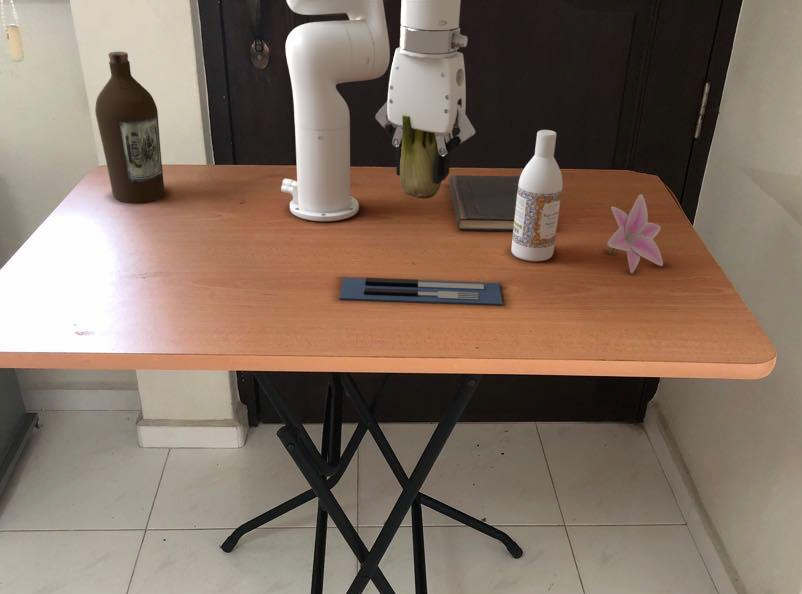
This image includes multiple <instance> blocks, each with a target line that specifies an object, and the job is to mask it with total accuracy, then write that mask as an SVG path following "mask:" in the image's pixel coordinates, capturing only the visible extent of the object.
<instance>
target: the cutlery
mask: <svg viewBox="0 0 802 594" xmlns="http://www.w3.org/2000/svg"><path fill="white" fill-rule="evenodd" d="M365 278H366V280H365V285H366V286H393V287H418V288H437V289H465V290H484V285H483V284H461V283H434V282H418V280H419V279H416V278H414V279H413V278H412V279H410V278H386V277H385V278H384V277H383V278H382V277H365ZM364 295H388V296H416V297H417V296H421V297H438V299H454V300H479V298H478V293H468V292H451V291H438V292H418V290H411V289H384V288H364Z"/></svg>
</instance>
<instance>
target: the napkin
mask: <svg viewBox="0 0 802 594" xmlns="http://www.w3.org/2000/svg"><path fill="white" fill-rule="evenodd" d="M366 278H367V277H343V278H342V284H341V289H340V293H339V301H340V300H342V301H365V302H368V301H369V302H395V303H396V302H397V303H419V304H420V303H421V304H422V303H423V304H447V305H448V304H449V305H450V304H451V305H476V306H478V305H479V306H503V298H502V291H501V287H500V283H499V282H480V281H479V282H475V281H453V280H452V281H450V280H425V279H424V280H422V279H421V280H419V279H417V280H418V282H434V283H461V284H483V285H484V290H465V289H437V288H418V287H393V286H366V285H365V280H366ZM364 288H384V289H411V290H418V292H438V291H451V292H468V293H478V298H479V300H454V299H438V297H421V296H417V297H416V296H388V295H364Z"/></svg>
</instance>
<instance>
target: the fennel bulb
mask: <svg viewBox="0 0 802 594" xmlns="http://www.w3.org/2000/svg"><path fill="white" fill-rule="evenodd" d="M437 154H438V147H437V142H436V137H435V133H431V132H425V131H420V130H415V129H412V128H411V122H410V117H409V116H406V115H403V139H402V152H401V160H400V176H399V179H400V185H401V189H402V192H403V193H404V194H405V195H407V196H410V197H414V198H417V199H422V200H423V199H431V198H433V197H434V196H436V194H437V193H438V191H439V190H440V188H441V185H442V181H441V182H440V183H439V184H436V183H434V182H433V173H434V157H435V155H437Z"/></svg>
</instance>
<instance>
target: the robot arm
mask: <svg viewBox="0 0 802 594" xmlns="http://www.w3.org/2000/svg"><path fill="white" fill-rule="evenodd" d="M286 4H287V5H288V7H289V9H290V10H291V11H292V12H293V13H296V14H299V15H306V16H309V15H310V16H316V15H319V16H320V15H332V14H333V15H334V14H346V15H347V17H348V19H346V20H324V21H313V22H307V23H304V24H300V25H298V26H296V27H295V28H292V30H291V31H290V32H289V34H288V35H287V38H286V40H285V56H286V63H287V68H288V72H289V77H290V83H291V90H292V98H293V99H292V101H293V112H294V113H293V115H294V131H295V132H294V133H295V135H294V136H295V158H296V180H294V179H290V178H283V180H282V183H281V187H280V193H282V194H288V195H291V196H292V199H291V201H290V202H289V211H290V212H291V214H292V215H294V216H296V217H298V218H300V219H302V220H307V221H312V222H337V221H342V220H346V219H349V218H351V217H354V216H355V215H356V214H358V212H359V210H360V203H359V201H358V200H357V199H356V198H354V197H353V196H351V115H350V109H349V106H348V104H347V102H346V101H345V99H344V98H343V96H342V95H341V94H340V92H339V91H338V89H337V85H338V84H344V83H352V82H363V81H370V80H375V79H378V78H381V77H382V76H383V75H384V74H385V73H386V71H387V70H388V67H389V64H390V57H391V56H390V55H391V54H390V53H391V52H390V50H391V49H390V39H389V33H388V26H387V20H386V13H385V7H384V0H286ZM400 4H401V6H400V28H399V29H400V31H399V32H400V33H399V47H397V48H395V52H394V56H393V61H392V64H391V69H390V74H389V81H388V91H387V100H386V102H385V103H384V104H383V105H382V107H380V109H379V110H378V111H377V112H376V114H375V117H374V118H375V120H376V121H377V122H378V123H379V124H380V126H381V127H382V128H383V129H384V131H385V132H386V134H387V135H388V137H389V139H390V140H392V141H391V144H392V146H393V147H395V155H394V166H395V168H396V176H399V177H400V160H401V152H402V139H403V115H406V116H409V117H410V122H411V128H412V130H414V129H415V130H420V131H425V132H431V133H435V137H436V142H437V147H438V154H437V155H435V157H434V173H433V182H434V183H436V184H439V183H440V182H441V183H442V182H443V181H445V180H446V179H447V178H448V176H449V174H450V168H451V167H450V166H451V153H452V152H453V151H454V150H455V149H456V148H457V147H459V146H460V145H461V144H463V142H465V141H467V140H469V139H470V138H471V137H473V136H475V134H476V129H475V128H474V126H473V124H472V123H471V121H470V119H469V118H468V116H467V114H466V103H467V96H466V95H467V94H466V93H467V90H466V89H467V88H466V87H467V85H466V67H465V59H464V53H462V52H460V51H458V50H459V49H460V48H466V47H467V45H468V36H467V35H463V34H461V28H460V14H461V13H460V12H461V0H401V2H400ZM454 128H455V129H456V128H459V133H457V135H455V136H453V130H454Z"/></svg>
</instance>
